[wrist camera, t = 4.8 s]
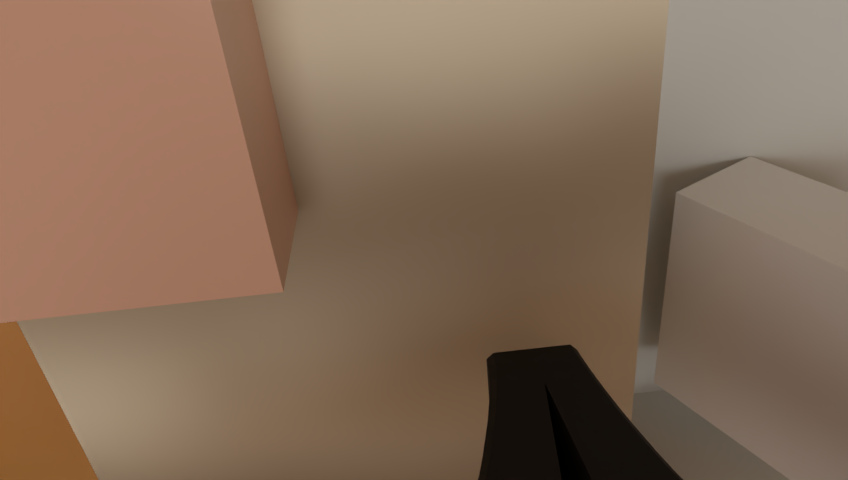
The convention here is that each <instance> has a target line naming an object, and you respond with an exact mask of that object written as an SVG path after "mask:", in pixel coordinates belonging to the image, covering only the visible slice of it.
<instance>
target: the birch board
mask: <svg viewBox="0 0 848 480" xmlns="http://www.w3.org/2000/svg"><path fill="white" fill-rule="evenodd" d="M252 2H253V7H254V11H255V16H256V20H257V25H258V29H259V34H260V39H261V43H262V48H263V52H264V57H265V61H266V66H267V70H268V75H269V80H270V84H271V89H272V93H273V98H274V102H275V107H276V111H277V116H278V121H279V125H280V130H281V134H282V139H283V143H284V148H285V152H286V157H287V162H288V166H289V171H290V175H291V180H292V184H293V189H294V194H295V198H296V203H297V207H298V215H297V220H296V226H295V231H294V237H293V242H292V248H291V253H290V259H289V264H288V270H287V275H286V281H285V286H284V292H280V293H271V294H262V295H252V296H243V297H234V298H225V299H216V300H207V301H197V302H188V303H179V304H170V305H161V306H152V307H143V308H133V309H124V310H115V311H106V312H97V313H88V314H78V315H69V316H60V317H51V318H42V319H33V320H24V321H17V323H18V325H19V327H20V329H21V330H22V332H23V334H24V336H25V338H26V340H27V342H28V344H29V346H30V348H31V350H32V352H33V354H34V356H35V358H36V359H37V361H38V363H39V365H40V367H41V369H42V371H43V373H44V375H45V377H46V379H47V381H48V383H49V385H50V387H51V388H52V390H53V392H54V394H55V396H56V398H57V400H58V402H59V404H60V406H61V408H62V410H63V412H64V414H65V416H66V417H67V419H68V421H69V423H70V425H71V427H72V429H73V431H74V433H75V435H76V437H77V439H78V441H79V443H80V445H81V446H82V448H83V450H84V452H85V454H86V456H87V458H88V460H89V462H90V464H91V466H92V468H93V470H94V472H95V473H96V475H97V477H98V479H99V480H478V477H479V473H480V468H481V463H482V457H483V450H484V443H485V436H486V429H487V422H488V410H489V390H488V375H487V358H488V357H489V356H490V355H492V354H493V353H496V352H505V351H514V350H524V349H533V348H542V347H551V346H560V345H569V344H570V345H572V346H573V347H574V348H576V349H577V350H578V352H579V354H580V355H581V357H582V358H583V360H584V361H585V362H586V364H587V365H588V367H589V368H590V370H591V371H592V372H593V374H594V375H595V377H596V378H597V379H598V381H599V382H600V383H601V385H602V386H603V387H604V389H605V390H606V391H607V392H608V394H609V395H610V396H611V398H612V399H613V400H614V401H615V403H616V404H617V405H618V406H619V408H620V409H621V410H622V411H623V413H624V414H625V415H626V416H627V417H628V419H629V420H630V421H631V418H632V407H633V396H634V385H635V374H636V363H637V352H638V341H639V330H640V318H641V307H642V296H643V285H644V274H645V263H646V252H647V241H648V230H649V219H650V208H651V196H652V185H653V174H654V163H655V152H656V141H657V130H658V119H659V108H660V97H661V86H662V75H663V63H664V52H665V41H666V30H667V19H668V8H669V0H252Z"/></svg>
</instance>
